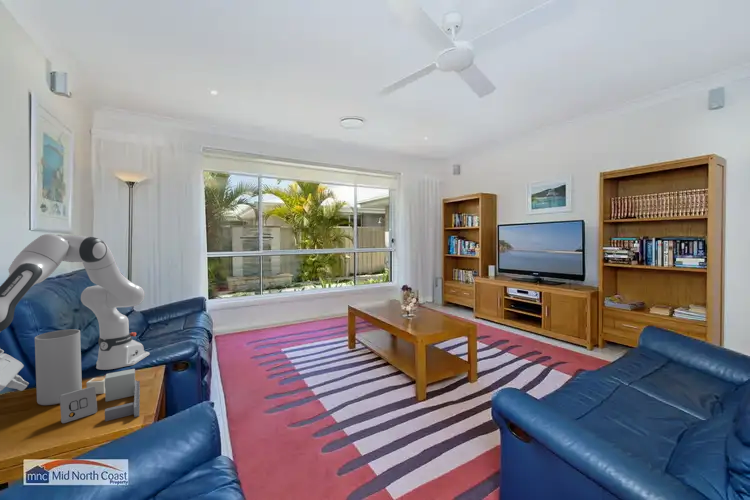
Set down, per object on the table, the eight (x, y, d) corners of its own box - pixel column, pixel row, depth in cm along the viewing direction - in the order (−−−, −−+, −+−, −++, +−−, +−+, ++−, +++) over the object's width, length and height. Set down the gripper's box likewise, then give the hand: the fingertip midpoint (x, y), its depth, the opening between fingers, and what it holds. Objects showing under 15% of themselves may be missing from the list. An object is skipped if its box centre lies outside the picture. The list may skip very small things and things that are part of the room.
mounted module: (106, 396, 127) (105, 373, 126) (135, 390, 132) (134, 368, 132) (105, 401, 123) (104, 378, 122) (135, 395, 128) (134, 372, 128)
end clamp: (105, 418, 112) (105, 408, 112) (134, 411, 116) (134, 402, 116) (104, 421, 110) (104, 411, 110) (134, 414, 115) (134, 404, 115)
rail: (135, 390, 132) (135, 380, 132) (139, 389, 133) (139, 379, 133) (134, 417, 113) (133, 406, 113) (139, 416, 114) (139, 404, 113)
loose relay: (93, 390, 132) (93, 377, 132) (110, 388, 133) (109, 376, 133) (86, 394, 128) (86, 382, 128) (104, 393, 129) (103, 380, 129)
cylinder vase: (31, 401, 123) (28, 336, 122) (73, 387, 134) (71, 327, 133) (44, 409, 117) (42, 341, 116) (88, 394, 128) (86, 332, 127)
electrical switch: (61, 425, 108) (60, 397, 108) (58, 420, 111) (57, 393, 111) (97, 413, 115) (96, 387, 115) (94, 409, 118) (93, 384, 119)
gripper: (-25, 366, 92) (26, 391, 98) (1, 346, 109) (43, 368, 115) (-49, 386, 90) (4, 410, 96) (-19, 362, 106) (25, 384, 112)
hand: (25, 387), depth 105 cm, fingers closed
